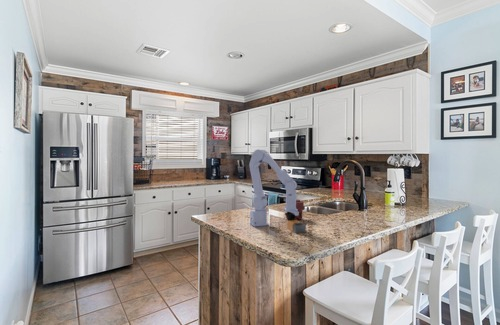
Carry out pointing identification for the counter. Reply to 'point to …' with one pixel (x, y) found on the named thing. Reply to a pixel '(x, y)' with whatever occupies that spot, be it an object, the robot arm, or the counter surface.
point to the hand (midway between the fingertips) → (290, 225)
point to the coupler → (299, 227)
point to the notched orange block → (291, 224)
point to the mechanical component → (299, 209)
